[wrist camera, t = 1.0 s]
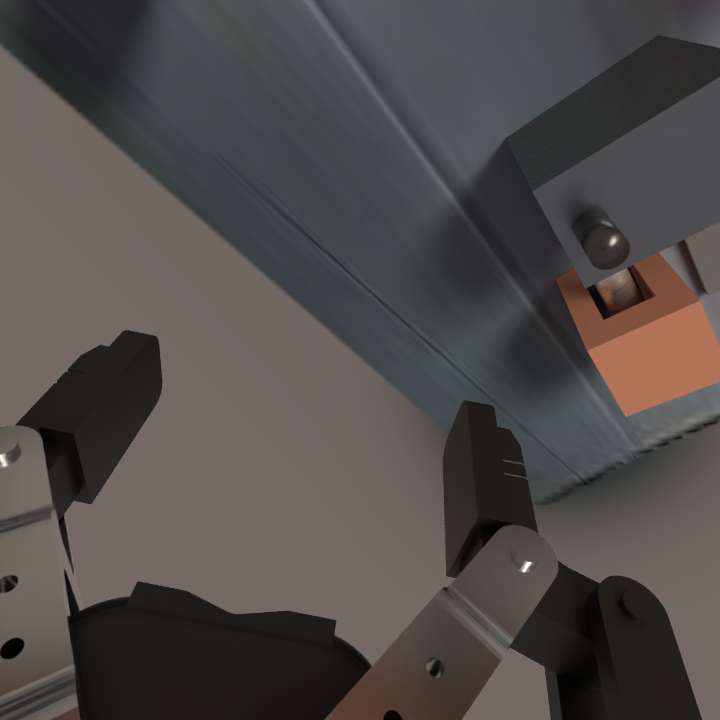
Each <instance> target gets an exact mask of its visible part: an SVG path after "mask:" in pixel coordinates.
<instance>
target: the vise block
mask: <svg viewBox="0 0 720 720" xmlns="http://www.w3.org/2000/svg"><path fill="white" fill-rule="evenodd" d="M505 139H506V141H507V143H508V145H509V147H510V149H511V151H512V153H513V155H514V157H515V159H516V161H517V163H518V165H519V167H520V169H521V171H522V173H523V175H524V177H525V178H526V180H527V182H528V184H529V186H530V188H531V190H532V192H533V194H534V196H535V198H536V199H537V201H538V203H539V205H540V207H541V208H542V210H543V212H544V214H545V216H546V218H547V219H548V221H549V223H550V225H551V227H552V228H553V230H554V232H555V234H556V236H557V238H558V239H559V241H560V243H561V245H562V247H563V249H564V250H565V252H566V254H567V256H568V258H569V259H570V261H571V263H572V265H573V267H574V269H575V270H576V272H577V274H578V276H579V278H580V280H581V281H582V283H583V285H584V287H585V289H586V288H588V287H590V286H592V285H595V287H596V288H597V290H598V292H599V294H600V296H601V298H602V300H603V301H604V303H605V305H606V307H607V309H608V311H609V313H610V315H611V316H614V315H616V314H618V313H620V312H622V311H625V310H627V309H629V308H631V307H633V306H635V305H638V304H640V303H642V302H644V301H643V299H642V297H641V295H640V293H639V291H638V289H637V287H636V285H635V283H634V281H633V279H632V277H631V275H630V272H629V270H628V267H630V266H632V265H634V264H636V263H638V262H640V261H642V260H644V259H646V258H648V257H650V256H652V255H654V254H656V253H658V252H660V251H662V250H664V249H666V248H668V247H670V246H672V245H674V244H676V243H678V242H680V241H682V240H684V239H686V238H688V237H690V236H692V235H694V234H696V233H698V232H700V231H702V230H704V229H706V228H708V227H710V226H712V225H714V224H716V223H718V222H720V48H717V47H712V46H707V45H702V44H697V43H693V42H688V41H683V40H678V39H673V38H669V37H664V36H659V35H658V36H657V37H655V38H654V39H652V40H651V41H649V42H648V43H646V44H645V45H643V46H642V47H640V48H639V49H637V50H636V51H634V52H633V53H631V54H630V55H628V56H627V57H626V58H624V59H623V60H621V61H620V62H618V63H617V64H615V65H614V66H612V67H611V68H609V69H608V70H606V71H605V72H603V73H602V74H600V75H599V76H597V77H596V78H594V79H593V80H591V81H590V82H588V83H587V84H586V85H584V86H583V87H581V88H580V89H578V90H577V91H575V92H574V93H572V94H571V95H569V96H568V97H566V98H565V99H563V100H562V101H560V102H559V103H557V104H556V105H554V106H553V107H551V108H550V109H548V110H547V111H545V112H544V113H543V114H541V115H540V116H538V117H537V118H535V119H534V120H532V121H531V122H529V123H528V124H526V125H525V126H523V127H522V128H520V129H519V130H517V131H516V132H514V133H513V134H511V135H510V136H508V137H507V138H505Z"/></svg>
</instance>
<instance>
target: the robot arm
mask: <svg viewBox="0 0 720 720" xmlns="http://www.w3.org/2000/svg"><path fill="white" fill-rule="evenodd" d="M161 390H162V372H161V360H160V349H159V341H158V339H157V337H156V336H153V335H148V334H144V333H138V332H134V331H129V330H125V331H123V332H122V333H121V334H120V335H119V336H118V337H117V338H116V340H115V341H114V342H113V343H112V344H111V345H110V346H109V347H107V346H103V345H100V346H98V347H96V348H94V349H92V350H90V351H88V352H87V353H85V354H83V355H81V356H80V357H79V358H78V359H77V360H76V361H75V362H74V363H73V364H72V365H71V366H70V368H69V369H68V372H65V373H64V374H63V375H62V376H61V377H60V378H59V379H58V380H57V383H55V384H53V386H52V387H51V388H50V389H49V390H48V391H47V392H46V393H45V394H44V395H43V396H42V397H41V398H40V399H39V401H37V403H36V404H35V405H34V406H33V407H32V408H31V409H30V410H29V411H28V412H27V413H26V414H25V416H23V417H22V418H21V420H20V421H19V422H18V423H17V424H16V425H14V426H5V427H0V720H462V718H463V717H464V715H465V714H466V712H467V711H468V709H469V708H470V706H471V705H472V703H473V702H474V701H475V699H476V698H477V696H478V695H479V693H480V692H481V690H482V689H483V687H484V685H485V684H486V683H487V681H488V679H489V678H490V677H491V675H492V674H493V672H494V671H495V669H496V668H497V666H498V665H499V663H500V662H501V660H502V659H503V657H504V656H505V654H506V653H507V651H508V650H509V648H512V649H514V650H516V651H517V652H519V653H521V654H523V655H525V656H526V657H528V658H530V659H532V660H534V661H535V662H537V663H539V664H541V665H543V666H544V667H545V674H546V682H547V690H548V699H549V706H550V716H551V720H702V718H701V715H700V712H699V709H698V706H697V703H696V700H695V697H694V694H693V691H692V688H691V685H690V681H689V678H688V675H687V672H686V670H685V666H684V663H683V660H682V657H681V654H680V651H679V648H678V645H677V642H676V639H675V636H674V633H673V630H672V627H671V623H670V620H669V618H668V615H667V613H666V611H665V609H664V607H663V605H662V604H661V603H660V602H659V600H658V599H657V598H656V597H655V595H654V594H653V593H652V592H651V591H650V590H648V589H647V588H646V587H645V586H643V585H642V584H640V583H638V582H637V581H635V580H633V579H630V578H627V577H624V576H610V577H608V578H606V579H604V580H603V581H602V582H601V583H600V584H599V583H598V582H596V581H594V580H592V579H590V578H588V577H586V576H584V575H582V574H579V573H578V572H576V571H574V570H572V569H570V568H568V567H566V566H565V565H563V564H562V563H561V562H559V561H558V560H557V557H556V555H555V552H554V550H553V549H552V547H551V546H550V544H549V543H548V542H547V541H546V540H545V539H544V538H543V537H542V536H541V535H539V534H538V530H537V525H536V520H535V515H534V510H533V505H532V500H531V495H530V490H529V485H528V480H526V477H527V476H526V471H525V466H523V464H524V461H523V456H522V451H521V446H520V444H519V443H518V441H517V440H516V438H515V437H514V435H513V434H512V432H511V431H510V429H505V428H500V427H497V422H496V416H495V410H494V407H493V406H491V405H486V404H482V403H477V402H472V401H467V400H464V401H463V402H462V404H461V406H460V409H459V411H458V414H457V416H456V418H455V421H454V423H453V426H452V428H451V431H450V433H449V436H448V439H447V441H446V445H445V449H444V455H443V480H444V481H443V483H444V512H445V513H444V514H445V545H446V576H448V577H453V578H456V579H455V580H454V581H453V582H452V583H451V584H450V586H448V587H447V588H445V587H444V588H442V589H441V590H440V591H439V592H438V593H437V594H436V595H435V596H434V597H433V599H432V600H431V601H430V602H429V603H428V604H427V605H426V606H425V607H424V609H423V610H422V611H421V612H420V613H419V614H418V616H416V618H415V619H414V620H413V621H412V622H411V623H410V624H409V625H408V627H407V628H406V629H405V630H404V631H403V632H402V633H401V634H400V635H399V637H398V638H397V639H396V640H395V641H394V642H393V643H392V644H391V646H390V647H389V648H388V649H387V650H386V651H385V652H384V653H383V655H382V656H381V657H380V658H379V659H378V660H377V661H376V662H375V664H374V665H373V666H372V665H371V664H370V663H369V662H368V661H367V659H366V658H365V657H364V656H363V655H362V654H361V653H360V652H359V651H358V650H356V649H355V648H354V647H353V646H352V645H350V644H349V643H347V642H346V641H344V640H343V639H341V638H339V637H337V636H335V635H334V633H335V626H336V620H332V619H327V618H322V617H317V616H312V615H307V614H302V613H297V612H291V611H278V612H264V613H249V614H232V613H229V612H227V611H225V610H223V609H221V608H219V607H217V606H215V605H213V604H211V603H209V602H207V601H205V600H203V599H201V598H199V597H197V596H196V595H194V594H192V593H190V592H188V591H184V590H179V589H174V588H169V587H164V586H159V585H154V584H149V583H143V582H137V584H136V586H135V588H134V590H133V592H132V594H131V596H130V597H121V598H117V599H111V600H108V601H104V602H101V603H98V604H95V605H93V606H90V607H88V608H85V609H84V607H83V603H82V599H81V596H80V591H79V586H78V581H77V576H76V570H75V565H74V560H73V553H72V548H71V543H70V537H69V531H68V525H67V520H66V516H65V512H66V511H67V509H68V508H69V506H70V505H71V503H72V502H73V501H78V502H83V503H88V504H92V502H93V501H94V499H95V498H96V496H97V495H98V493H99V492H100V490H101V489H102V487H103V486H104V484H105V483H106V481H107V479H108V478H109V476H110V475H111V473H112V472H113V470H114V468H115V467H116V466H117V464H118V463H119V461H120V459H121V458H122V456H123V455H124V453H125V452H126V450H127V449H128V447H129V446H130V444H131V443H132V441H133V439H134V438H135V436H136V435H137V433H138V432H139V430H140V429H141V427H142V426H143V424H144V423H145V421H146V419H147V418H148V416H149V415H150V413H151V412H152V410H153V409H154V407H155V406H156V404H157V402H158V400H159V397H160V394H161Z"/></svg>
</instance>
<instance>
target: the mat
mask: <svg viewBox="0 0 720 720" xmlns="http://www.w3.org/2000/svg"><path fill="white" fill-rule="evenodd" d="M683 241H684V243H685V245H686V248H687V250H688V253H689V255H690V257H691V260H692V262H693V265H694V267H695V270H696V272H697V274H698V277H699V279H700V282H701V284H702V286H703V289H704V291H705V292H706V293H707V294H708V295H709V294H712V293H714V292H716V291H718V290H720V222H718V223H716V224H714V225H712V226H710V227H708V228H706V229H704V230H702V231H700V232H698V233H696V234H694V235H692V236H690V237H688V238H686V239H684V240H683Z"/></svg>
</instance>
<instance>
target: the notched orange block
mask: <svg viewBox="0 0 720 720" xmlns="http://www.w3.org/2000/svg"><path fill="white" fill-rule="evenodd" d="M630 269H631V271H632V273H633V275H634V277H635V279H636V281H637V284H638V286H639V288H640V290H641V292H642V294H643V296H644V298H645V300H646V301H644V302H642V303H640V304H638V305H635V306H633V307H631V308H629V309H627V310H625V311H622V312H620V313H618V314H616V315H614V316H612V317H610V318H607V319H605V320H604V319H603V317H602V315H601V313H600V311H599V309H598V308H597V306H596V304H595V302H594V300H593V298H592V297H591V295H590V293H589V291H588V289H587V288H586V289H585V287H584V285H583V283H582V281H581V280H580V278H579V276H578V274H577V272H576V270H575V269H572V270H570V271H569V272H567V273H565V274H563V275H561V276H559V277H557V278H555V279H556V281H557V283H558V286H559V288H560V290H561V293H562V295H563V297H564V299H565V302H566V304H567V306H568V309H569V311H570V313H571V315H572V318H573V320H574V322H575V324H576V327H577V329H578V331H579V334H580V336H581V338H582V340H583V343H584V345H585V347H586V350H587V352H588V353H589V355H590V357H591V358H592V360H593V362H594V363H595V365H596V367H597V369H598V370H599V372H600V374H601V375H602V377H603V379H604V380H605V382H606V384H607V386H608V387H609V389H610V391H611V392H612V394H613V396H614V397H615V399H616V401H617V403H618V404H619V406H620V408H621V409H622V411H623V413H624V414H625V416H626V417H627V416H629V415H632V414H635V413H637V412H640V411H643V410H645V409H648V408H651V407H653V406H656V405H659V404H661V403H664V402H667V401H669V400H672V399H675V398H677V397H680V396H683V395H685V394H688V393H691V392H693V391H696V390H699V389H701V388H704V387H707V386H709V385H712V384H715V383H717V382H720V346H719V344H718V341H717V339H716V337H715V334H714V332H713V330H712V327H711V325H710V322H709V320H708V318H707V315H706V313H705V311H704V308H703V306H702V304H701V301H700V300H699V299H698V297H697V296H696V295H695V294H694V293H693V292H692V291H691V289H690V288H689V287H688V286H687V285H686V284H685V283H684V281H683V280H682V279H681V278H680V277H679V276H678V274H677V273H676V272H675V271H674V270H673V269H672V268H671V266H670V265H669V264H668V263H667V262H666V261H665V260H664V258H663V257H662V256H661V255H660V254H659V253H656V254H654V255H652V256H650V257H648V258H646V259H644V260H642V261H640V262H638V263H636V264H634V265H632V266H630Z"/></svg>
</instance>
